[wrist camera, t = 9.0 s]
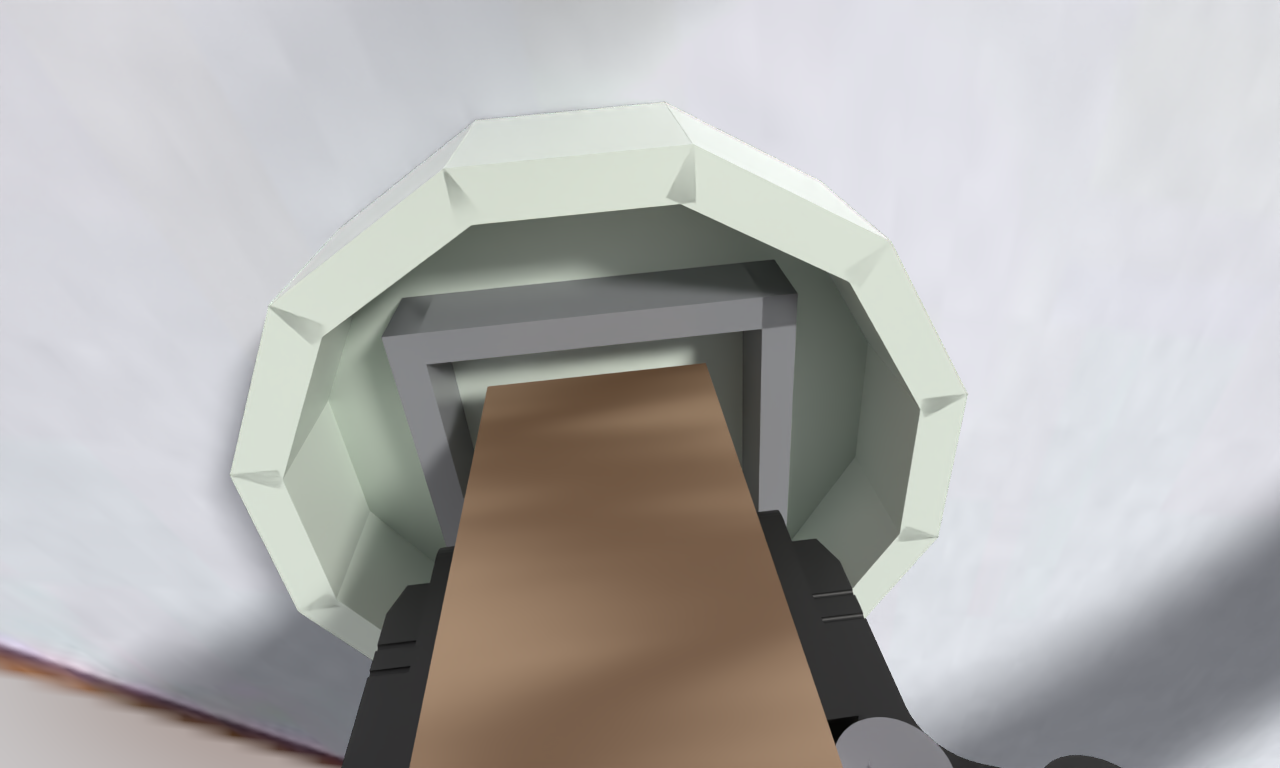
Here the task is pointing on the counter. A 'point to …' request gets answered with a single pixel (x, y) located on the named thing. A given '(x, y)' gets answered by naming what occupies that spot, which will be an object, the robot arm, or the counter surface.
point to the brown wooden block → (615, 592)
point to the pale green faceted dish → (590, 347)
